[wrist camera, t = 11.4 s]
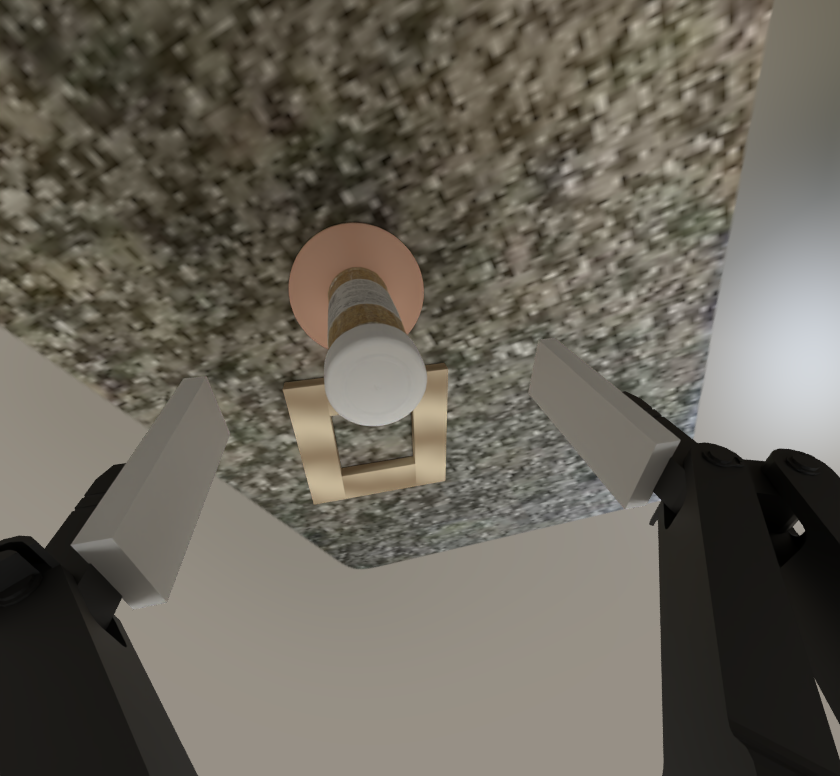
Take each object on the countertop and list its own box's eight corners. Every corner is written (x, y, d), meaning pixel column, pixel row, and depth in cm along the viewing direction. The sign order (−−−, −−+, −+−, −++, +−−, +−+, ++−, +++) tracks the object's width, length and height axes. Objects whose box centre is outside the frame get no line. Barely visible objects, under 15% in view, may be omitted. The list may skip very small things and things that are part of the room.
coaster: (275, 225, 23) (273, 227, 23) (420, 218, 25) (422, 220, 24) (304, 358, 29) (303, 363, 28) (422, 345, 30) (424, 349, 30)
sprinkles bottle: (371, 333, 28) (398, 441, 17) (317, 308, 26) (306, 412, 15) (399, 283, 26) (448, 365, 15) (343, 252, 24) (352, 320, 13)
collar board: (284, 382, 29) (282, 389, 28) (444, 362, 32) (448, 369, 31) (314, 495, 37) (314, 504, 36) (442, 472, 39) (445, 480, 38)
